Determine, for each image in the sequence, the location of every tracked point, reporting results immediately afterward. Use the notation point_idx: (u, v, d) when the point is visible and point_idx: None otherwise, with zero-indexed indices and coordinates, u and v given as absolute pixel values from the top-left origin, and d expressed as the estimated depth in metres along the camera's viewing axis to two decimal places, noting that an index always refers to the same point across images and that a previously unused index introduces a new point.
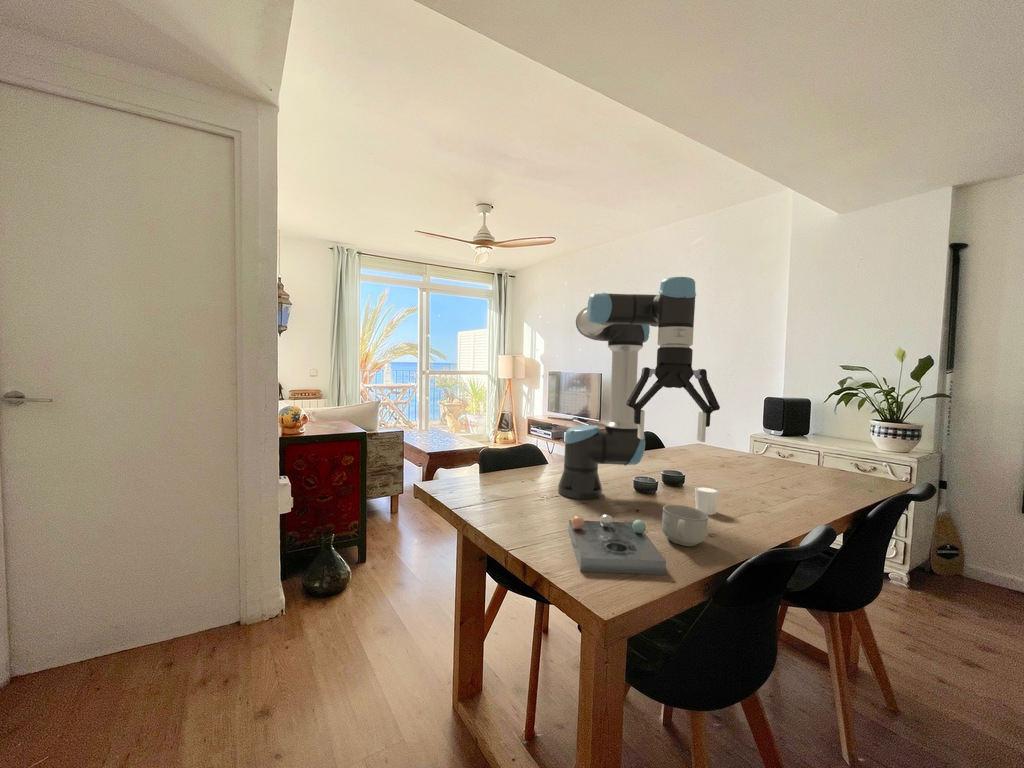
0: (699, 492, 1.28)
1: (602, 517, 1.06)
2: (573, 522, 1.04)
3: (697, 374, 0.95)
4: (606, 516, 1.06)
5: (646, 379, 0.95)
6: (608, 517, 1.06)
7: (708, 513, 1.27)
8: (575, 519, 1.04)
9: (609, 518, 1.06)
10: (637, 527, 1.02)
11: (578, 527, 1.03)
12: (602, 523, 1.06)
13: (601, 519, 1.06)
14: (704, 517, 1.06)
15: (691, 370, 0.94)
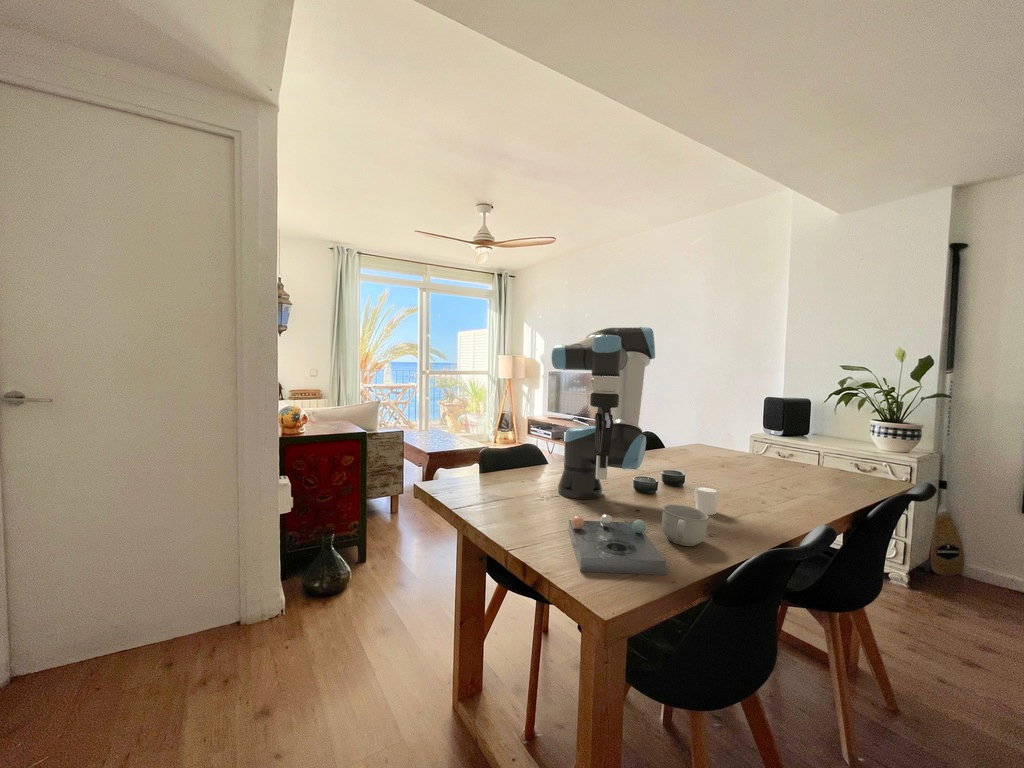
0: (699, 492, 1.28)
1: (602, 517, 1.06)
2: (573, 522, 1.04)
3: None
4: (606, 516, 1.06)
5: (595, 424, 1.18)
6: (608, 517, 1.06)
7: (708, 513, 1.27)
8: (575, 519, 1.04)
9: (609, 518, 1.06)
10: (637, 527, 1.02)
11: (578, 527, 1.03)
12: (602, 523, 1.06)
13: (601, 519, 1.06)
14: (704, 517, 1.06)
15: (602, 414, 1.10)
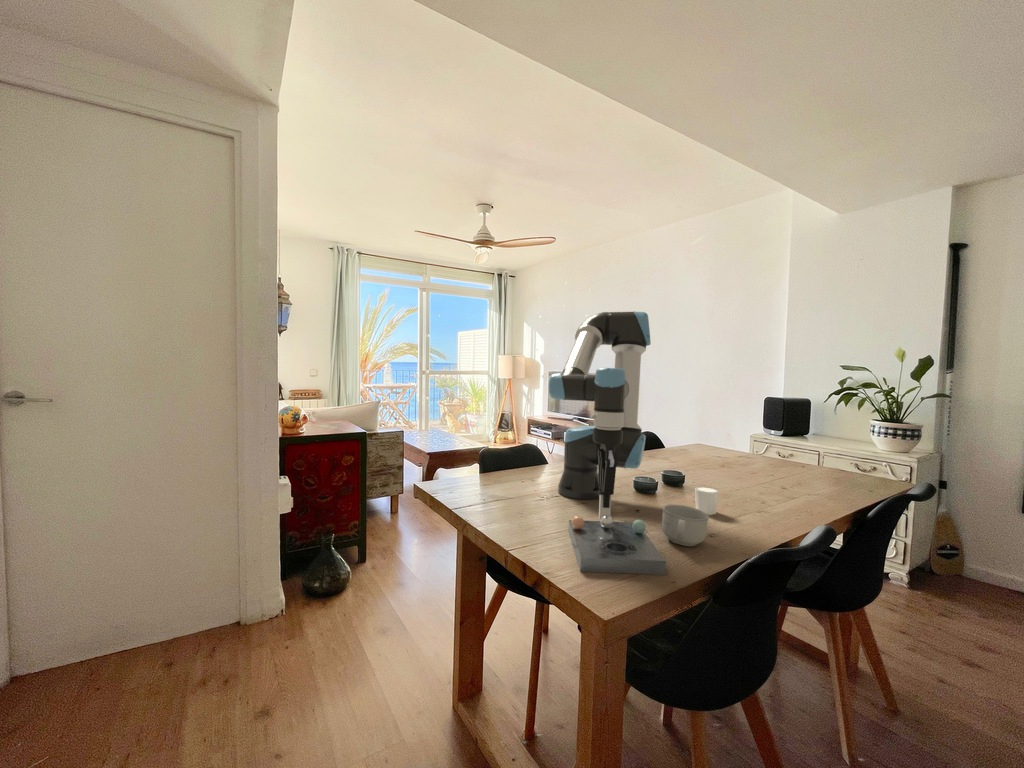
0: (699, 492, 1.28)
1: (603, 519, 1.05)
2: (573, 522, 1.04)
3: None
4: (607, 519, 1.05)
5: (598, 459, 1.12)
6: (609, 520, 1.05)
7: (708, 513, 1.27)
8: (575, 519, 1.04)
9: (610, 521, 1.05)
10: (637, 527, 1.02)
11: (578, 527, 1.03)
12: (602, 525, 1.05)
13: (602, 521, 1.05)
14: (704, 517, 1.06)
15: (606, 452, 1.04)
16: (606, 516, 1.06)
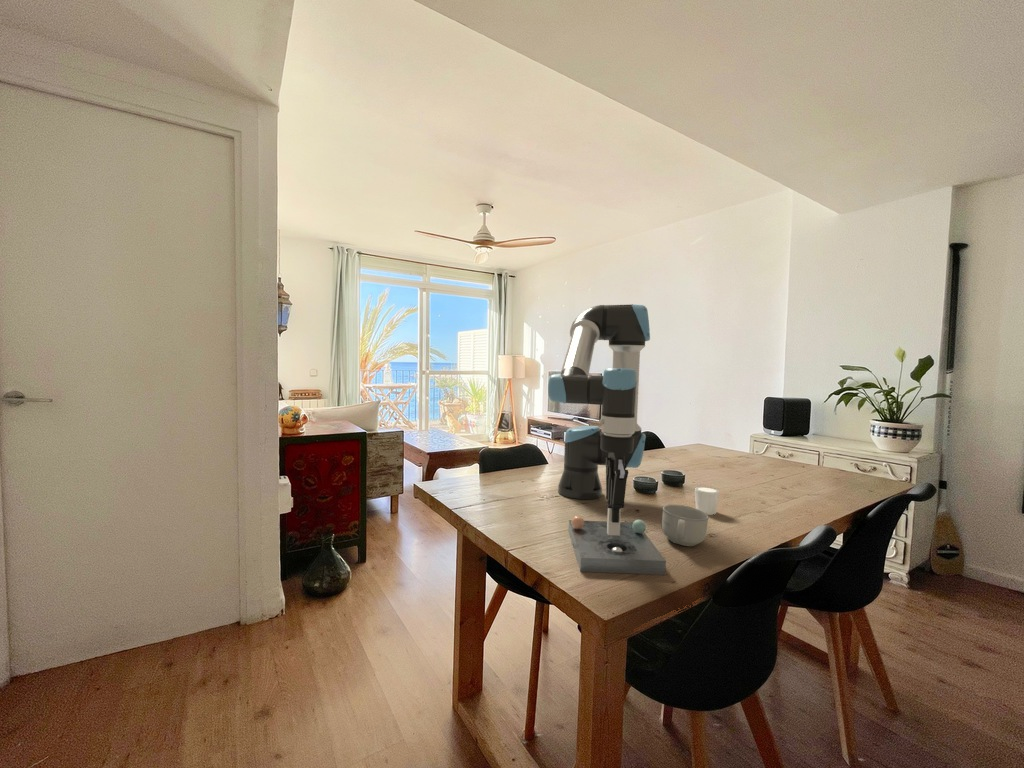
0: (699, 492, 1.28)
1: None
2: (573, 522, 1.04)
3: None
4: None
5: (606, 468, 1.02)
6: None
7: (708, 513, 1.27)
8: (575, 519, 1.04)
9: None
10: (637, 527, 1.02)
11: (578, 527, 1.03)
12: None
13: None
14: (704, 517, 1.06)
15: (615, 461, 0.94)
16: None
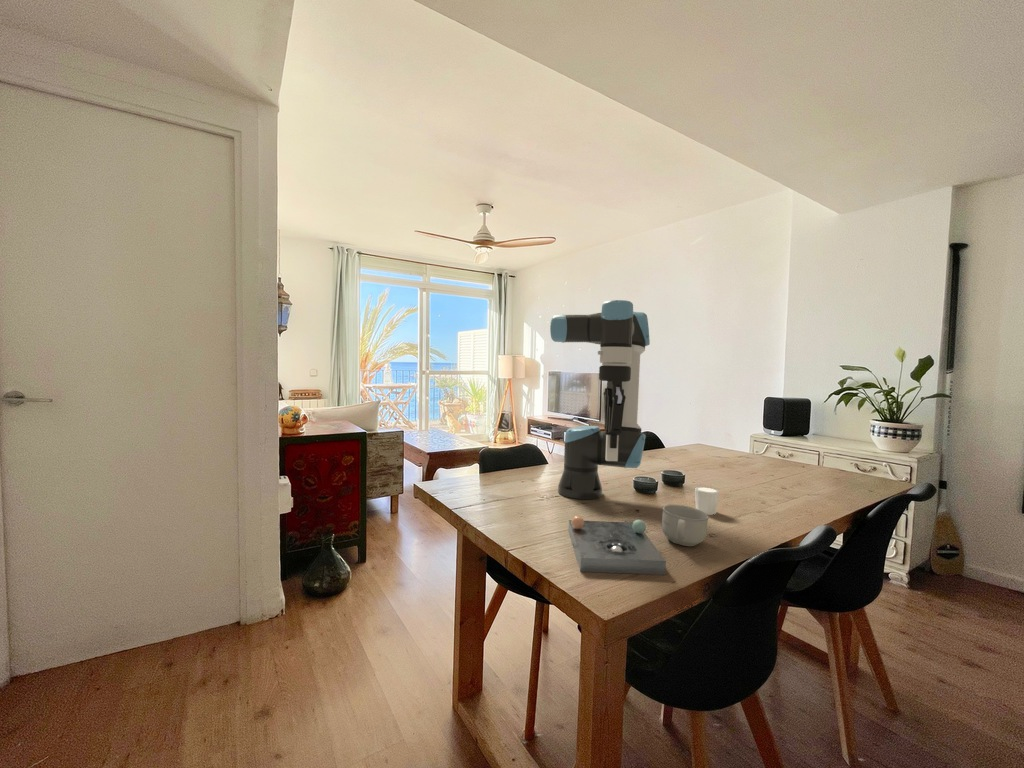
0: (699, 492, 1.28)
1: None
2: (573, 522, 1.04)
3: None
4: None
5: (605, 400, 1.07)
6: None
7: (708, 513, 1.27)
8: (575, 519, 1.04)
9: None
10: (637, 527, 1.02)
11: (578, 527, 1.03)
12: None
13: None
14: (704, 517, 1.06)
15: (613, 389, 0.99)
16: None
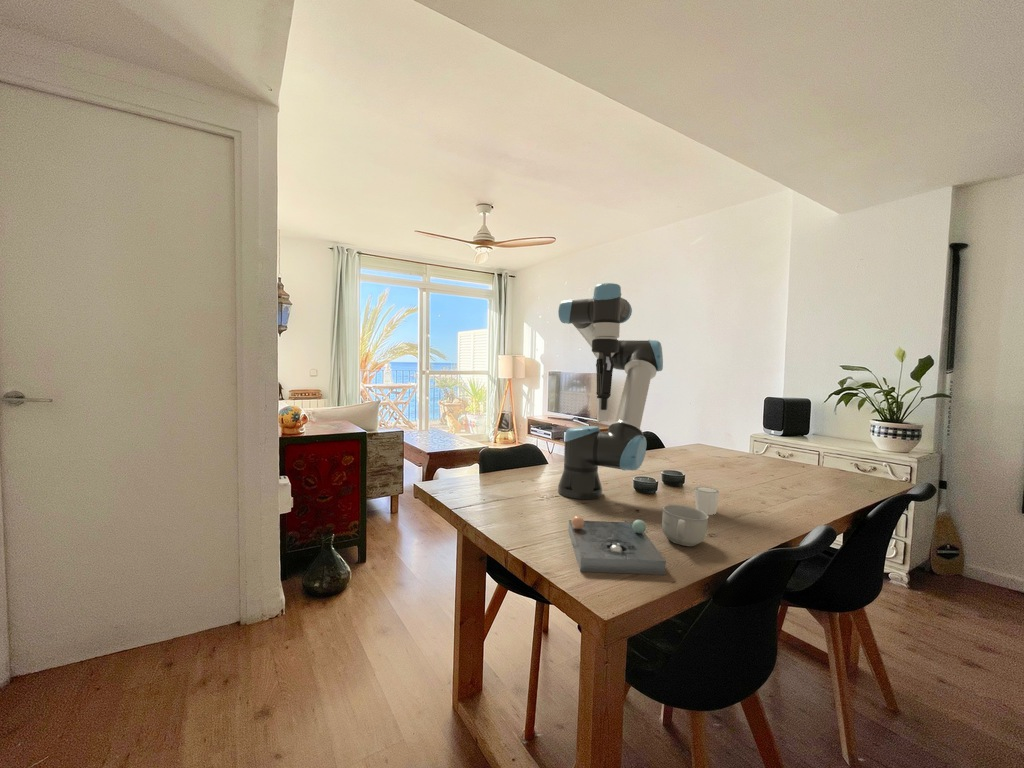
0: (699, 492, 1.28)
1: None
2: (573, 522, 1.04)
3: None
4: None
5: (597, 370, 1.25)
6: None
7: (708, 513, 1.27)
8: (575, 519, 1.04)
9: None
10: (637, 527, 1.02)
11: (578, 527, 1.03)
12: None
13: None
14: (704, 517, 1.06)
15: (603, 358, 1.16)
16: None
